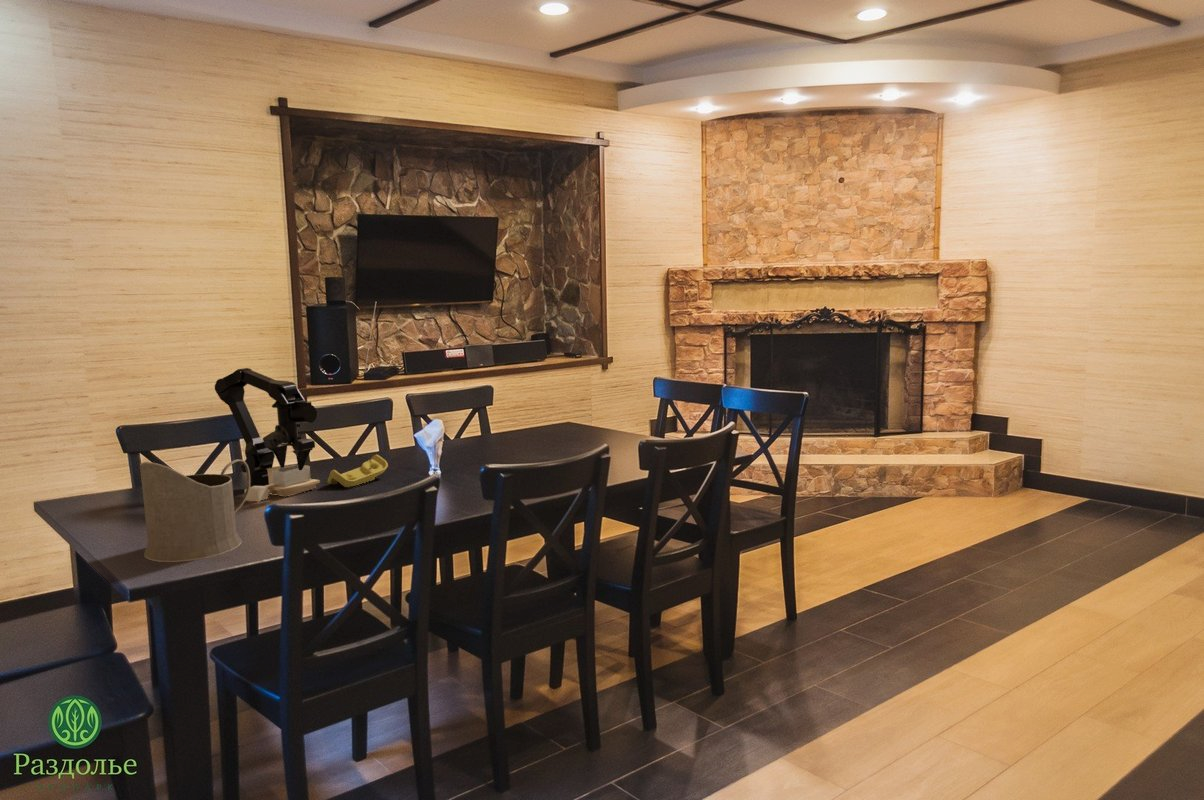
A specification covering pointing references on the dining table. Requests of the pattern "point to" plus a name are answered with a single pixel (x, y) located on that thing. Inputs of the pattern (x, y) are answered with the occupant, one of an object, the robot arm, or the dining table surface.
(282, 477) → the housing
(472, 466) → the dining table surface
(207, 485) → the pitcher
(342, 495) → the dining table surface
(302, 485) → the stand
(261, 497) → the parts box
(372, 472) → the plastic component
